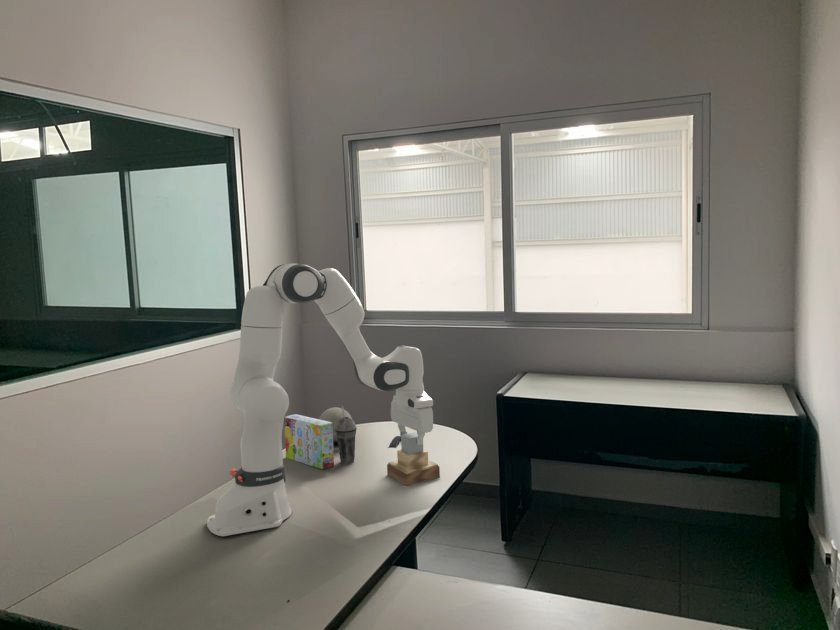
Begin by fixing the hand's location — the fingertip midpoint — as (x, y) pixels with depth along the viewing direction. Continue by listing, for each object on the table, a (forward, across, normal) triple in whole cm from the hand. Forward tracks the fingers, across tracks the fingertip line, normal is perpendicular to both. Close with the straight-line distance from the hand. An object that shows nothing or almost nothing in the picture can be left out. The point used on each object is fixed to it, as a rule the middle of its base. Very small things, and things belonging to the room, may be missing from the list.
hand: (411, 440), depth 195 cm
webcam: (+12, -43, -7) cm, 45 cm away
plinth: (+11, 0, 0) cm, 11 cm away
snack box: (+12, -34, -21) cm, 42 cm away
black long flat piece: (+12, -32, +13) cm, 37 cm away
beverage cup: (+12, -25, -11) cm, 30 cm away
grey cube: (+3, 0, 0) cm, 3 cm away
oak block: (+7, 0, 0) cm, 7 cm away
